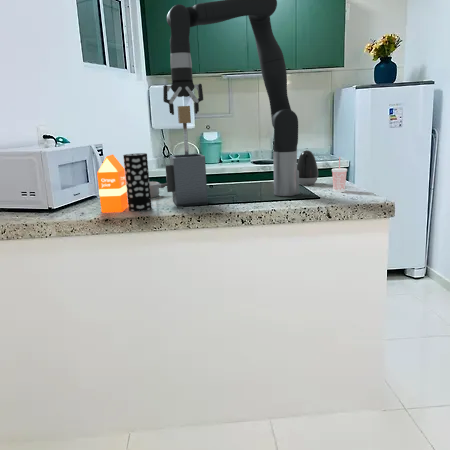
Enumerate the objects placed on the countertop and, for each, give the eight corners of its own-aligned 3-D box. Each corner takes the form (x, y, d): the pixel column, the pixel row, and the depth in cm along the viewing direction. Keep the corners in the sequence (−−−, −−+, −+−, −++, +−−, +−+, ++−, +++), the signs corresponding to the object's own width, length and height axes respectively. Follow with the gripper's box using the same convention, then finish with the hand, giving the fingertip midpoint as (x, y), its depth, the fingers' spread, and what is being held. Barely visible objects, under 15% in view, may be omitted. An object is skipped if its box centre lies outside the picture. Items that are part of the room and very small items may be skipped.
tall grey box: (201, 198, 178) (199, 153, 173) (207, 204, 167) (204, 156, 162) (166, 202, 175) (163, 155, 170) (170, 207, 164) (166, 158, 159)
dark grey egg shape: (295, 186, 196) (294, 151, 192) (295, 182, 206) (295, 149, 202) (318, 186, 194) (319, 151, 190) (317, 182, 204) (318, 148, 200)
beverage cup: (329, 191, 180) (329, 157, 177) (334, 189, 185) (334, 155, 182) (344, 192, 177) (345, 157, 173) (348, 190, 182) (349, 155, 178)
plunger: (197, 171, 173) (193, 105, 167) (201, 174, 165) (197, 105, 159) (174, 173, 171) (169, 106, 165) (177, 176, 163) (172, 106, 157)
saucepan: (181, 197, 184) (180, 183, 183) (132, 200, 182) (130, 187, 180) (179, 192, 195) (179, 179, 194) (133, 195, 193) (132, 182, 191)
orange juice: (101, 212, 161) (94, 157, 156) (108, 207, 169) (102, 154, 164) (122, 212, 160) (116, 156, 155) (128, 206, 169) (123, 153, 164)
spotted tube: (141, 212, 158) (135, 155, 153) (124, 210, 163) (118, 155, 158) (156, 207, 165) (151, 153, 160) (139, 205, 170) (134, 153, 165)
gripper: (199, 67, 164) (201, 113, 168) (160, 68, 161) (163, 115, 165) (202, 65, 156) (205, 113, 161) (162, 66, 153) (166, 115, 158)
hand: (184, 114), depth 163 cm, fingers open, 8 cm apart
